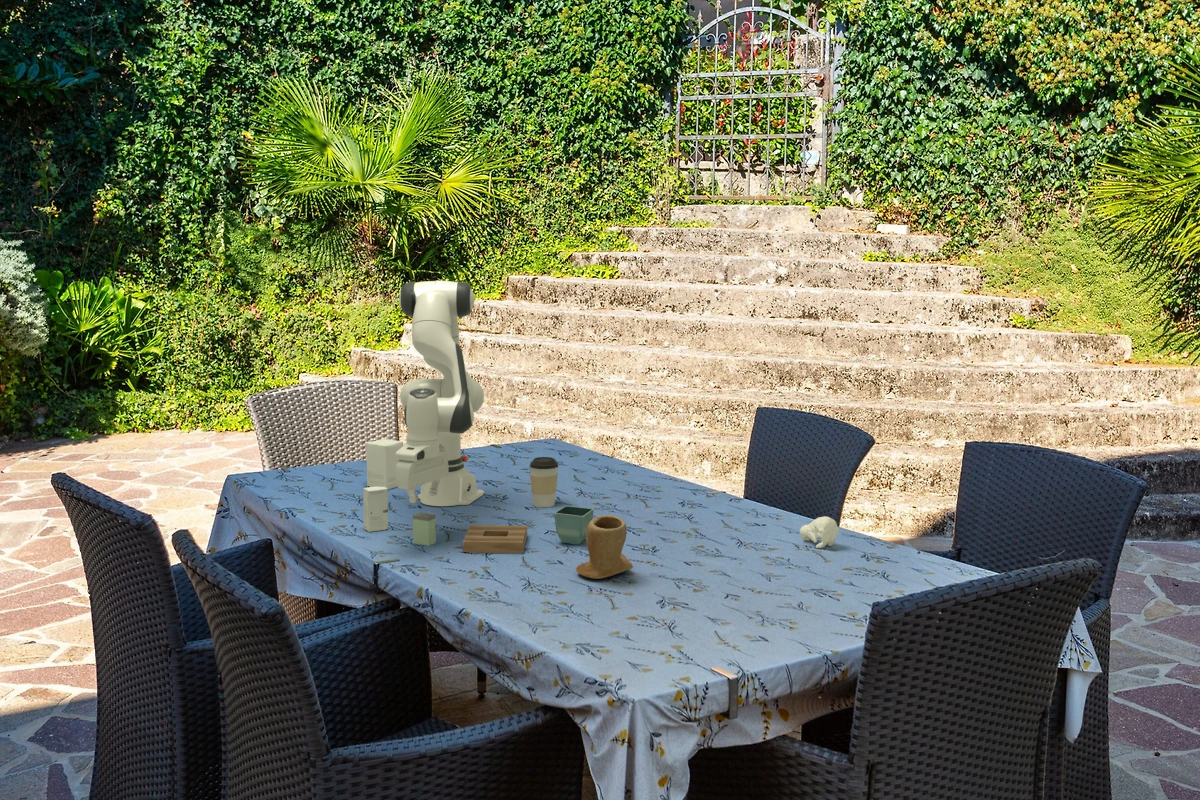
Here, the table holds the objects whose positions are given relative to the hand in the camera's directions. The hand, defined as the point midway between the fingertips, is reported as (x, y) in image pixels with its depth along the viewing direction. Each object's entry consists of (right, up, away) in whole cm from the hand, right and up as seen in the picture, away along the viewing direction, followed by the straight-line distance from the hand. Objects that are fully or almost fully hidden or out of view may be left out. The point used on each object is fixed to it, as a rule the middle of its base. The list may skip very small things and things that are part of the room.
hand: (423, 498), depth 298 cm
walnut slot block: (+20, -13, +2) cm, 23 cm away
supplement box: (-23, -2, +65) cm, 69 cm away
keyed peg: (0, -12, +2) cm, 13 cm away
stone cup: (+50, -17, -22) cm, 57 cm away
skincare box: (-16, -10, +15) cm, 25 cm away
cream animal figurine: (+109, -13, +6) cm, 109 cm away
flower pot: (+41, -13, +5) cm, 43 cm away
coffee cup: (+31, -6, +44) cm, 54 cm away
